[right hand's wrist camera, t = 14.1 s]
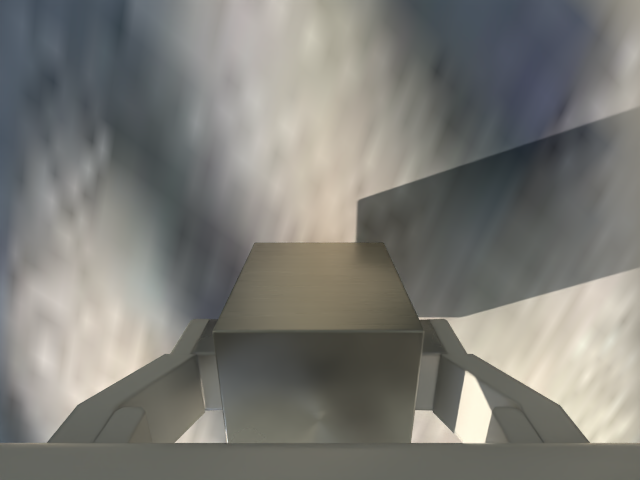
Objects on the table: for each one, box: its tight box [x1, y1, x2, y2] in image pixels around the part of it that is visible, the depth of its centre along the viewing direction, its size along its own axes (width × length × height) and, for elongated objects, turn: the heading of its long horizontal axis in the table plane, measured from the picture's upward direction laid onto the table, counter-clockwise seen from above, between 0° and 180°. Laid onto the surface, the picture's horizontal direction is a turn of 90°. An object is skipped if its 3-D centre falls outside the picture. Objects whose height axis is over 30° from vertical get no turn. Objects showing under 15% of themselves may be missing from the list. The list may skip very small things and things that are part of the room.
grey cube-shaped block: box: [212, 243, 425, 443], centre depth 10 cm, size 4×5×5 cm
